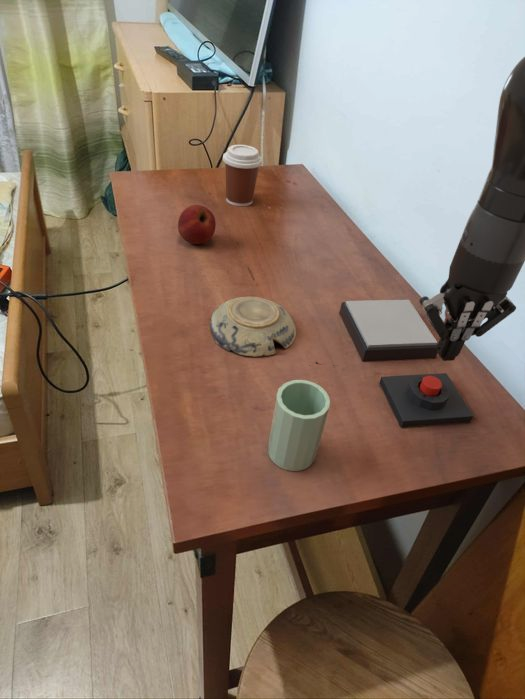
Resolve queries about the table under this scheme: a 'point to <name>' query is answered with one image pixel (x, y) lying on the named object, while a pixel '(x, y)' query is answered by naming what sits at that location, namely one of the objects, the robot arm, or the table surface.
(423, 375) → the panel
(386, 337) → the scale
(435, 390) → the button
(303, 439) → the cup
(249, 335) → the decorative bowl
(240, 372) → the table surface
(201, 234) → the apple
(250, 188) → the coffee cup
